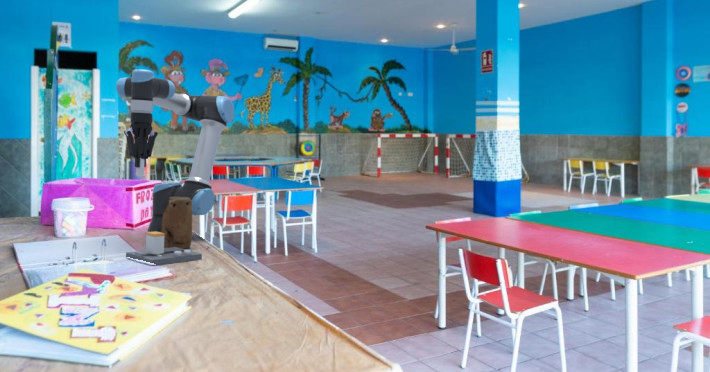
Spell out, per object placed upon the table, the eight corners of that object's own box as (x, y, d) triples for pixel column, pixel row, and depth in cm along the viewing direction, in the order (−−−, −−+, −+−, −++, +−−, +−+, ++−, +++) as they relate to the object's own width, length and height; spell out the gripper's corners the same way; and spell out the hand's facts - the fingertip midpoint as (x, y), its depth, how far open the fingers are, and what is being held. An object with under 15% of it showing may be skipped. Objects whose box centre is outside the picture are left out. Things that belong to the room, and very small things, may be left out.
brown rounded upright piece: (187, 245, 235) (189, 196, 234) (192, 249, 229) (194, 198, 227) (159, 246, 229) (161, 196, 228) (164, 250, 223) (166, 198, 222)
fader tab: (155, 250, 208) (156, 231, 207) (163, 253, 205) (164, 233, 204) (145, 252, 205) (146, 232, 204) (153, 254, 202) (154, 234, 201)
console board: (175, 252, 221) (175, 242, 221) (201, 259, 211) (201, 249, 211) (125, 258, 205) (125, 247, 205) (151, 266, 195) (151, 255, 195)
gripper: (150, 113, 223) (149, 175, 225) (119, 110, 212) (118, 175, 214) (163, 113, 219) (161, 176, 221) (131, 111, 208) (130, 177, 210)
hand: (140, 176), depth 218 cm, fingers closed
